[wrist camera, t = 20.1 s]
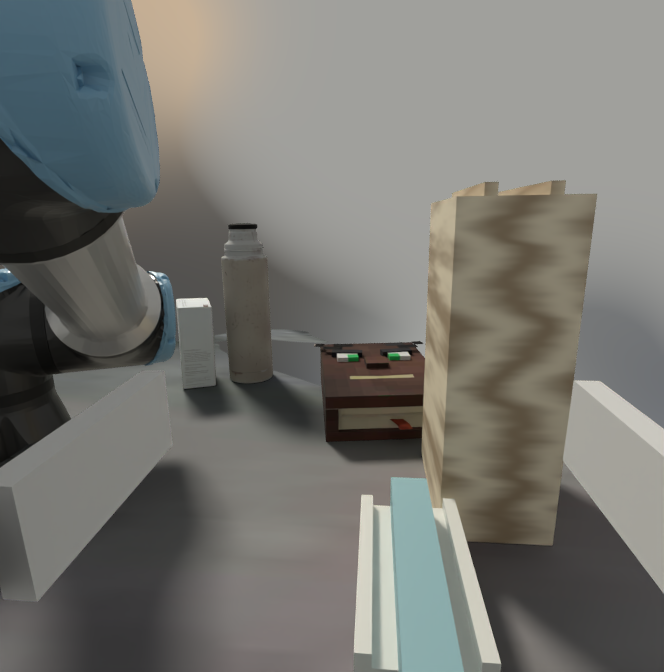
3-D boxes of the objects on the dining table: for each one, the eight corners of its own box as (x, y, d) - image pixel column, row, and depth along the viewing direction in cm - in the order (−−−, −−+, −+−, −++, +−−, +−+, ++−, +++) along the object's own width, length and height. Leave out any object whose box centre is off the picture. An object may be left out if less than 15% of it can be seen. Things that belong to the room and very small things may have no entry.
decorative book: (316, 398, 56) (313, 337, 85) (317, 453, 58) (314, 375, 87) (470, 393, 57) (415, 334, 86) (466, 448, 59) (413, 372, 88)
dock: (354, 720, 27) (353, 652, 25) (361, 543, 41) (361, 494, 40) (494, 732, 26) (501, 663, 25) (451, 548, 40) (454, 498, 39)
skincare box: (181, 375, 86) (173, 298, 83) (213, 371, 88) (207, 296, 84) (183, 390, 79) (174, 306, 75) (218, 386, 81) (212, 303, 77)
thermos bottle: (221, 376, 86) (209, 223, 79) (256, 366, 91) (248, 223, 84) (245, 386, 80) (235, 223, 73) (281, 375, 85) (274, 222, 78)
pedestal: (438, 539, 41) (457, 182, 34) (421, 452, 57) (431, 193, 49) (552, 545, 40) (599, 179, 33) (503, 455, 56) (527, 191, 48)
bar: (410, 915, 16) (412, 859, 16) (390, 507, 40) (390, 477, 39) (495, 926, 16) (502, 869, 15) (425, 509, 39) (426, 478, 38)
